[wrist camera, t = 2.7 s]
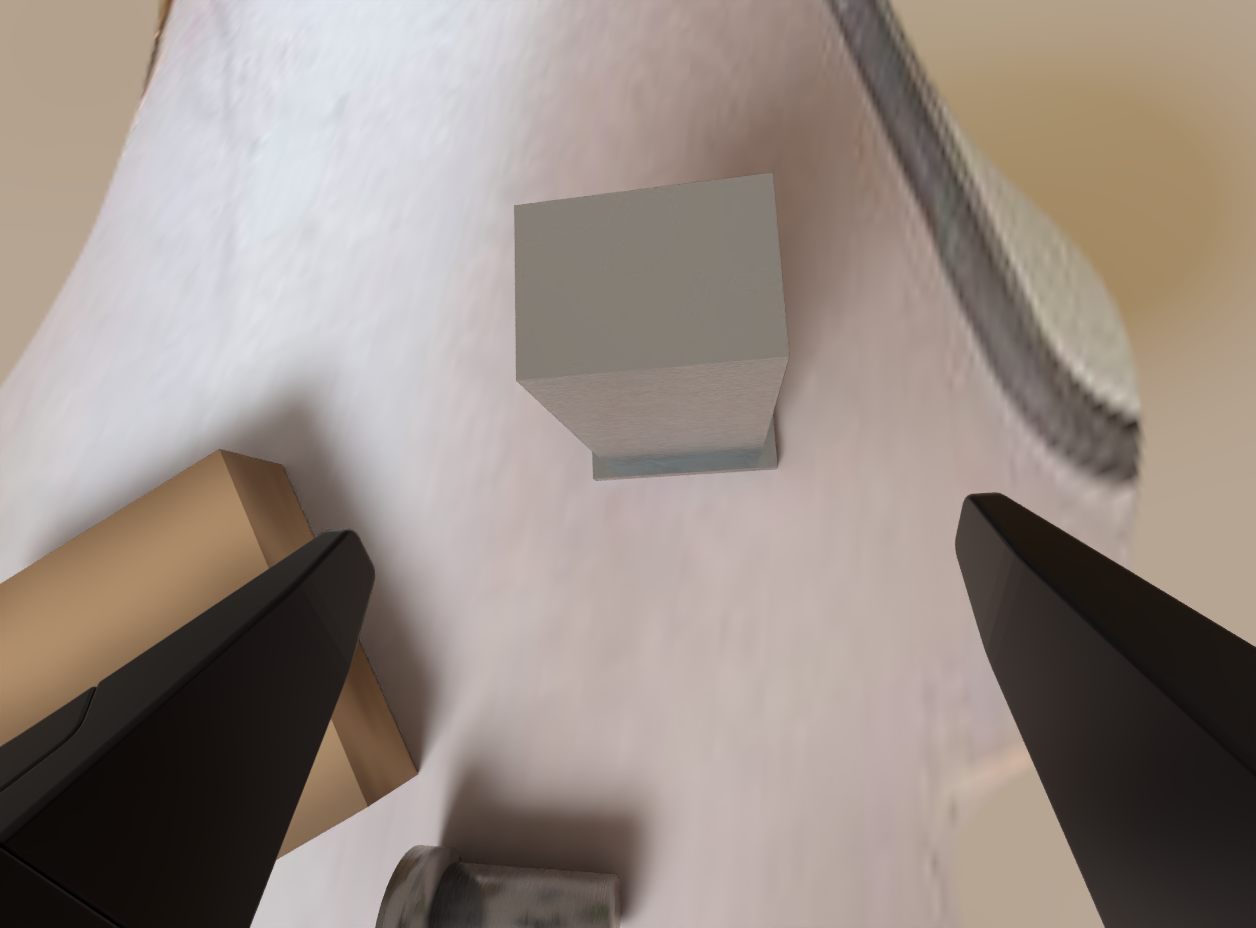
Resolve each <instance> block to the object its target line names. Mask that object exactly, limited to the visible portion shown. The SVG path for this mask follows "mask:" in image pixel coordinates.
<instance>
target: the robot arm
mask: <svg viewBox="0 0 1256 928" xmlns="http://www.w3.org/2000/svg"><path fill="white" fill-rule="evenodd" d="M955 549H956V555H957V559H958V562H959V565H960V569H961V572H962V576H963V579H964V582H965V586H966V589H967V592H968V596H969V599H970V603H971V606H972V609H973V613H974V616H975V619H976V623H977V626H978V630H979V633H980V636H981V639H982V642H983V646H984V649H985V652H986V654H987V657H988V659H989V662H990V664H991V667H992V669H993V672H994V674H995V676H996V679H997V681H998V683H999V685H1000V688H1001V690H1002V692H1003V695H1004V697H1005V699H1006V702H1007V704H1008V706H1009V708H1010V711H1011V713H1012V715H1013V718H1014V720H1015V722H1016V725H1017V727H1018V729H1019V731H1020V734H1021V736H1022V738H1023V741H1024V743H1025V745H1026V748H1027V750H1028V752H1029V754H1030V757H1031V759H1032V761H1033V764H1034V766H1035V768H1036V770H1037V773H1038V775H1039V777H1040V780H1041V782H1042V784H1043V787H1044V789H1045V791H1046V793H1047V796H1048V798H1049V800H1050V803H1051V805H1052V807H1053V809H1054V812H1055V814H1056V816H1057V819H1058V821H1059V823H1060V826H1061V828H1062V830H1063V832H1064V835H1065V837H1066V839H1067V842H1068V844H1069V846H1070V848H1071V851H1072V853H1073V855H1074V858H1075V860H1076V862H1077V864H1078V867H1079V869H1080V871H1081V874H1082V876H1083V878H1084V881H1085V883H1086V885H1087V888H1088V890H1089V892H1090V894H1091V897H1092V899H1093V901H1094V904H1095V906H1096V908H1097V911H1098V913H1099V915H1100V917H1101V920H1102V922H1103V924H1104V926H1105V928H1256V647H1255V646H1253V645H1251V644H1250V643H1248V642H1246V641H1245V640H1243V639H1241V638H1240V637H1238V636H1236V635H1235V634H1233V633H1231V632H1230V631H1228V630H1226V629H1225V628H1223V627H1222V626H1220V625H1218V624H1217V623H1215V622H1213V621H1212V620H1210V619H1208V618H1207V617H1205V616H1203V615H1202V614H1200V613H1198V612H1197V611H1195V610H1193V609H1192V608H1190V607H1188V606H1187V605H1185V604H1184V603H1182V602H1180V601H1178V600H1177V599H1175V598H1174V597H1172V596H1170V595H1169V594H1167V593H1165V592H1164V591H1162V590H1160V589H1159V588H1157V587H1155V586H1154V585H1152V584H1150V583H1149V582H1147V581H1145V580H1144V579H1142V578H1141V577H1139V576H1137V575H1135V574H1134V573H1132V572H1131V571H1129V570H1127V569H1126V568H1124V567H1122V566H1121V565H1119V564H1117V563H1116V562H1114V561H1112V560H1111V559H1109V558H1107V557H1106V556H1104V555H1103V554H1101V553H1099V552H1098V551H1096V550H1094V549H1093V548H1091V547H1089V546H1088V545H1086V544H1084V543H1083V542H1081V541H1079V540H1078V539H1076V538H1074V537H1073V536H1071V535H1069V534H1068V533H1066V532H1064V531H1063V530H1061V529H1060V528H1058V527H1056V526H1055V525H1053V524H1051V523H1050V522H1048V521H1046V520H1045V519H1043V518H1041V517H1040V516H1038V515H1036V514H1035V513H1033V512H1031V511H1030V510H1028V509H1026V508H1025V507H1023V506H1022V505H1020V504H1018V503H1017V502H1015V501H1013V500H1012V499H1010V498H1008V497H1007V496H1005V495H1003V494H1001V493H977V494H970V495H968V496H967V497H966V498H965V500H964V502H963V505H962V510H961V515H960V520H959V524H958V529H957V534H956V539H955ZM374 580H375V570H374V566H373V564H372V562H371V560H370V558H369V556H368V554H367V552H366V550H365V548H364V546H363V544H362V542H361V540H360V538H359V536H358V534H357V533H356V532H355V531H354V530H351V529H333V530H327V531H324V532H323V533H321V534H320V535H318V536H317V537H315V538H314V539H312V540H311V541H309V542H308V543H306V544H305V545H303V546H302V547H300V548H299V549H297V550H296V551H294V552H293V553H291V554H290V555H288V556H287V557H285V558H284V559H282V560H281V561H279V562H278V563H276V564H275V565H273V566H272V567H270V568H269V569H267V570H266V571H264V572H263V573H261V574H260V575H258V576H257V577H255V578H254V579H252V580H251V581H249V582H248V583H246V584H245V585H243V586H242V587H240V588H239V589H237V590H236V591H234V592H233V593H231V594H230V595H228V596H227V597H225V598H224V599H222V600H221V601H219V602H218V603H216V604H215V605H213V606H212V607H210V608H209V609H207V610H206V611H204V612H203V613H201V614H200V615H198V616H197V617H195V618H194V619H192V620H191V621H190V622H188V623H187V624H185V625H184V626H182V627H181V628H179V629H178V630H176V631H175V632H173V633H172V634H170V635H169V636H167V637H166V638H164V639H163V640H161V641H160V642H158V643H157V644H155V645H154V646H152V647H151V648H149V649H148V650H146V651H145V652H143V653H142V654H140V655H139V656H137V657H136V658H134V659H133V660H131V661H130V662H128V663H127V664H125V665H124V666H122V667H121V668H119V669H118V670H116V671H115V672H113V673H112V674H110V675H109V676H107V677H106V678H104V679H103V680H101V681H100V682H99V683H98V685H97V686H93V687H91V688H89V689H88V690H86V691H85V692H83V693H82V694H80V695H79V696H77V697H76V698H74V699H73V700H71V701H70V702H68V703H67V704H65V705H64V706H62V707H61V708H59V709H58V710H56V711H55V712H53V713H52V714H50V715H48V716H47V717H45V718H44V719H42V720H41V721H39V722H38V723H36V724H35V725H33V726H32V727H30V728H29V729H27V730H25V731H24V732H22V733H21V734H19V735H18V736H16V737H14V738H13V739H11V740H10V741H8V742H6V743H5V744H3V745H2V746H0V928H250V926H251V924H252V921H253V918H254V916H255V913H256V911H257V908H258V906H259V903H260V900H261V898H262V895H263V893H264V890H265V888H266V885H267V882H268V880H269V877H270V875H271V872H272V870H273V867H274V864H275V862H276V859H277V857H278V854H279V851H280V849H281V846H282V844H283V841H284V839H285V836H286V833H287V831H288V828H289V826H290V823H291V821H292V818H293V815H294V813H295V810H296V808H297V805H298V803H299V800H300V797H301V795H302V792H303V790H304V787H305V785H306V782H307V779H308V777H309V774H310V772H311V769H312V767H313V764H314V761H315V759H316V756H317V754H318V751H319V749H320V746H321V743H322V741H323V738H324V736H325V733H326V731H327V728H328V725H329V723H330V720H331V718H332V715H333V713H334V710H335V707H336V705H337V702H338V700H339V697H340V695H341V692H342V689H343V687H344V684H345V682H346V679H347V676H348V673H349V670H350V668H351V664H352V661H353V658H354V655H355V651H356V647H357V644H358V640H359V636H360V633H361V629H362V625H363V622H364V618H365V614H366V610H367V607H368V603H369V599H370V596H371V592H372V588H373V585H374Z"/></svg>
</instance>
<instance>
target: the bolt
mask: <svg viewBox="0 0 1256 928" xmlns="http://www.w3.org/2000/svg"><path fill="white" fill-rule="evenodd" d="M619 927H620V882H619V877H618V875H617V874H605V873H592V872H579V871H566V870H552V869H539V868H526V867H513V866H499V865H486V864H473V863H462V862H461V858H460V856H459V853H458V852H457V850H456V849H454V848H451V847H438V846H424V845H417V846H414V847H413V848H411V849H410V850H409V851H408V852H407V853H406V854H405V855H404V856H403V858H402V859H401V860H400V862H399V864H398V865H397V867H396V869H395V871H394V872H393V874H392V877H391V879H390V881H389V883H388V886H387V888H386V891H385V894H384V897H383V900H382V903H381V906H380V910H379V913H378V918H377V922H376V927H375V928H619Z"/></svg>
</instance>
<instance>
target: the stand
mask: <svg viewBox="0 0 1256 928" xmlns="http://www.w3.org/2000/svg"><path fill="white" fill-rule="evenodd" d="M312 539H314V536H313V534H312V532H311V529H310V527H309V525H308V523H307V520H306V518H305V516H304V513H303V511H302V509H301V507H300V504H299V502H298V500H297V497H296V495H295V493H294V491H293V488H292V486H291V484H290V481H289V479H288V477H287V475H286V472H285V470H284V468H283V466H282V465H281V464H277V463H273V462H269V461H265V460H261V459H257V458H253V457H249V456H245V455H241V454H237V453H232V452H228V451H224V450H220V449H219V450H217V451H216V452H214V453H212V454H211V455H209V456H207V457H206V458H204V459H203V460H201V461H199V462H198V463H196V464H194V465H193V466H191V467H190V468H188V469H186V470H185V471H183V472H181V473H180V474H178V475H177V476H175V477H173V478H172V479H170V480H168V481H167V482H165V483H164V484H162V485H160V486H159V487H157V488H155V489H154V490H152V491H151V492H149V493H147V494H146V495H144V496H142V497H141V498H139V499H138V500H136V501H134V502H133V503H131V504H129V505H128V506H126V507H125V508H123V509H121V510H120V511H118V512H116V513H115V514H113V515H112V516H110V517H108V518H107V519H105V520H103V521H102V522H100V523H99V524H97V525H95V526H94V527H92V528H90V529H89V530H87V531H86V532H84V533H82V534H81V535H79V536H77V537H76V538H74V539H73V540H71V541H69V542H68V543H66V544H64V545H63V546H61V547H59V548H58V549H56V550H55V551H53V552H51V553H50V554H48V555H46V556H45V557H43V558H42V559H40V560H38V561H37V562H35V563H33V564H32V565H30V566H29V567H27V568H25V569H24V570H22V571H20V572H19V573H17V574H16V575H14V576H12V577H11V578H9V579H7V580H6V581H4V582H3V583H1V584H0V746H2V745H3V744H5V743H6V742H8V741H10V740H11V739H13V738H14V737H16V736H18V735H19V734H21V733H22V732H24V731H25V730H27V729H29V728H30V727H32V726H33V725H35V724H36V723H38V722H39V721H41V720H42V719H44V718H45V717H47V716H48V715H50V714H52V713H53V712H55V711H56V710H58V709H59V708H61V707H62V706H64V705H65V704H67V703H68V702H70V701H71V700H73V699H74V698H76V697H77V696H79V695H80V694H82V693H83V692H85V691H86V690H88V689H89V688H91V687H93V686H97V685H98V683H99V682H100V681H101V680H103V679H104V678H106V677H107V676H109V675H110V674H112V673H113V672H115V671H116V670H118V669H119V668H121V667H122V666H124V665H125V664H127V663H128V662H130V661H131V660H133V659H134V658H136V657H137V656H139V655H140V654H142V653H143V652H145V651H146V650H148V649H149V648H151V647H152V646H154V645H155V644H157V643H158V642H160V641H161V640H163V639H164V638H166V637H167V636H169V635H170V634H172V633H173V632H175V631H176V630H178V629H179V628H181V627H182V626H184V625H185V624H187V623H188V622H190V621H191V620H192V619H194V618H195V617H197V616H198V615H200V614H201V613H203V612H204V611H206V610H207V609H209V608H210V607H212V606H213V605H215V604H216V603H218V602H219V601H221V600H222V599H224V598H225V597H227V596H228V595H230V594H231V593H233V592H234V591H236V590H237V589H239V588H240V587H242V586H243V585H245V584H246V583H248V582H249V581H251V580H252V579H254V578H255V577H257V576H258V575H260V574H261V573H263V572H264V571H266V570H267V569H269V568H270V567H272V566H273V565H275V564H276V563H278V562H279V561H281V560H282V559H284V558H285V557H287V556H288V555H290V554H291V553H293V552H294V551H296V550H297V549H299V548H300V547H302V546H303V545H305V544H306V543H308V542H309V541H311V540H312ZM416 775H418V774H417V771H416V769H415V767H414V764H413V762H412V760H411V758H410V755H409V753H408V751H407V748H406V746H405V744H404V742H403V739H402V737H401V735H400V732H399V730H398V728H397V726H396V723H395V721H394V719H393V716H392V714H391V712H390V710H389V707H388V705H387V703H386V701H385V698H384V696H383V694H382V691H381V689H380V687H379V685H378V682H377V680H376V678H375V675H374V673H373V671H372V669H371V666H370V664H369V662H368V659H367V657H366V655H365V653H364V650H363V648H362V646H361V643H360V641H359V640H358V644H357V647H356V651H355V655H354V658H353V661H352V664H351V668H350V670H349V673H348V676H347V679H346V682H345V684H344V687H343V689H342V692H341V695H340V697H339V700H338V702H337V705H336V707H335V710H334V713H333V715H332V718H331V720H330V723H329V725H328V728H327V731H326V733H325V736H324V738H323V741H322V743H321V746H320V749H319V751H318V754H317V756H316V759H315V761H314V764H313V767H312V769H311V772H310V774H309V777H308V779H307V782H306V785H305V787H304V790H303V792H302V795H301V797H300V800H299V803H298V805H297V808H296V810H295V813H294V815H293V818H292V821H291V823H290V826H289V828H288V831H287V833H286V836H285V839H284V841H283V844H282V846H281V849H280V851H279V854H278V857H277V859H279V858H280V857H282V856H284V855H285V854H287V853H289V852H291V851H292V850H294V849H296V848H298V847H299V846H301V845H303V844H304V843H306V842H308V841H310V840H311V839H313V838H315V837H317V836H318V835H320V834H322V833H323V832H325V831H327V830H329V829H330V828H332V827H334V826H336V825H337V824H339V823H341V822H342V821H344V820H346V819H348V818H349V817H351V816H353V815H355V814H356V813H358V812H360V811H361V810H363V809H365V808H367V807H368V806H370V805H371V804H373V803H374V802H376V801H378V800H379V799H381V798H382V797H384V796H385V795H387V794H388V793H390V792H391V791H393V790H395V789H396V788H398V787H399V786H401V785H402V784H404V783H405V782H407V781H408V780H410V779H412V778H413V777H415V776H416ZM277 859H276V860H277Z"/></svg>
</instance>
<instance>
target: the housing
mask: <svg viewBox="0 0 1256 928" xmlns="http://www.w3.org/2000/svg"><path fill="white" fill-rule="evenodd" d="M514 215H515V311H516V381H517V382H518V383H519V384H520V385H522V386H523V387H524V388H525V389H526V390H527V391H528V392H529V393H530V394H531V395H532V396H533V397H534V398H535V399H537V400H538V401H539V402H540V403H541V404H542V405H543V406H544V407H545V408H546V409H547V410H548V411H549V412H550V413H552V414H553V415H554V416H555V417H556V418H557V419H558V420H559V421H560V422H561V423H562V424H563V425H564V426H565V427H567V428H568V429H569V430H570V431H571V432H572V433H573V434H574V435H575V436H576V437H577V438H578V439H579V440H581V441H582V442H583V443H584V444H585V445H586V446H587V447H588V448H589V449H590V450H591V451H592V455H593V479H594V480H596V481H601V480H616V479H632V478H647V477H663V476H678V475H694V474H709V473H725V472H740V471H756V470H771V469H777V467H778V466H777V454H776V442H775V431H774V419H773V411H774V408H775V404H776V401H777V398H778V394H779V391H780V387H781V384H782V380H783V377H784V373H785V370H786V367H787V363H788V360H789V346H788V335H787V324H786V313H785V302H784V291H783V280H782V269H781V258H780V247H779V236H778V225H777V214H776V203H775V192H774V181H773V172H772V173H764V174H756V175H749V176H741V177H733V178H725V179H717V180H709V181H702V182H694V183H686V184H678V185H670V186H663V187H655V188H647V189H639V190H631V191H624V192H616V193H608V194H600V195H592V196H585V197H577V198H569V199H561V200H553V201H546V202H538V203H530V204H522V205H514Z"/></svg>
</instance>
